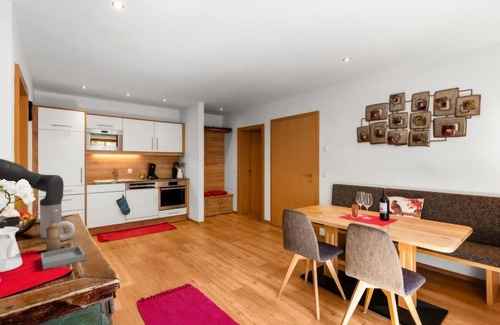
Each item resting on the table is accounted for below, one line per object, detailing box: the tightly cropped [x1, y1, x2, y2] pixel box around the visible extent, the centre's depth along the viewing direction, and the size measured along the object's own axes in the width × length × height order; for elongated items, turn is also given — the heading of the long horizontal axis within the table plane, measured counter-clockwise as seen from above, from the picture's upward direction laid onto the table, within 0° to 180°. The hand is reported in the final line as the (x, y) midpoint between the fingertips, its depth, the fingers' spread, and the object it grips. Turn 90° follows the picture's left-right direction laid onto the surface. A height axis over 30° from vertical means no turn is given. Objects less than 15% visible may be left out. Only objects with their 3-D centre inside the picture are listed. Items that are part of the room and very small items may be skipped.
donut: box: [57, 220, 76, 242], centre depth 129 cm, size 10×4×10 cm, turn 130°
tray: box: [40, 245, 86, 271], centre depth 104 cm, size 14×13×2 cm
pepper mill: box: [45, 223, 61, 252], centre depth 116 cm, size 5×5×12 cm
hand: (19, 220), depth 108 cm, fingers open, 8 cm apart
